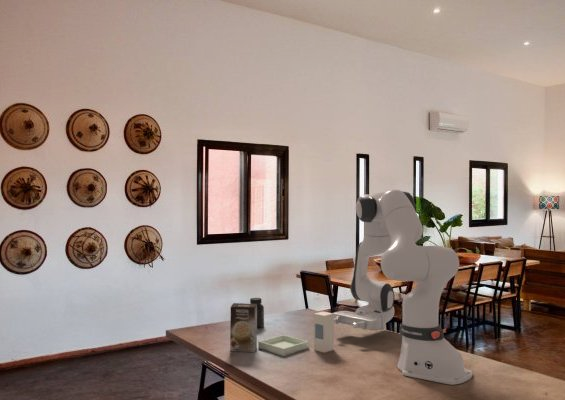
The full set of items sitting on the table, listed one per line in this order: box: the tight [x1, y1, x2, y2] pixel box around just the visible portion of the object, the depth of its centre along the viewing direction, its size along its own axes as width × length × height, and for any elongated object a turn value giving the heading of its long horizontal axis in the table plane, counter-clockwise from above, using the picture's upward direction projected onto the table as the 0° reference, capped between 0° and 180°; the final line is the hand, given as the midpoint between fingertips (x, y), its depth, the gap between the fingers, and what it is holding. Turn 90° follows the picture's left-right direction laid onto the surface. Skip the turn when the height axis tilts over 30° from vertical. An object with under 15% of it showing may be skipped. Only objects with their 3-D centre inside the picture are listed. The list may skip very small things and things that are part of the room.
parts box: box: [313, 311, 335, 354], centre depth 175 cm, size 5×5×13 cm
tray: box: [257, 334, 310, 357], centre depth 177 cm, size 13×13×2 cm
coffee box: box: [229, 302, 258, 353], centre depth 176 cm, size 9×6×16 cm
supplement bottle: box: [249, 297, 265, 329], centre depth 208 cm, size 7×7×12 cm
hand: (344, 323), depth 184 cm, fingers open, 8 cm apart
